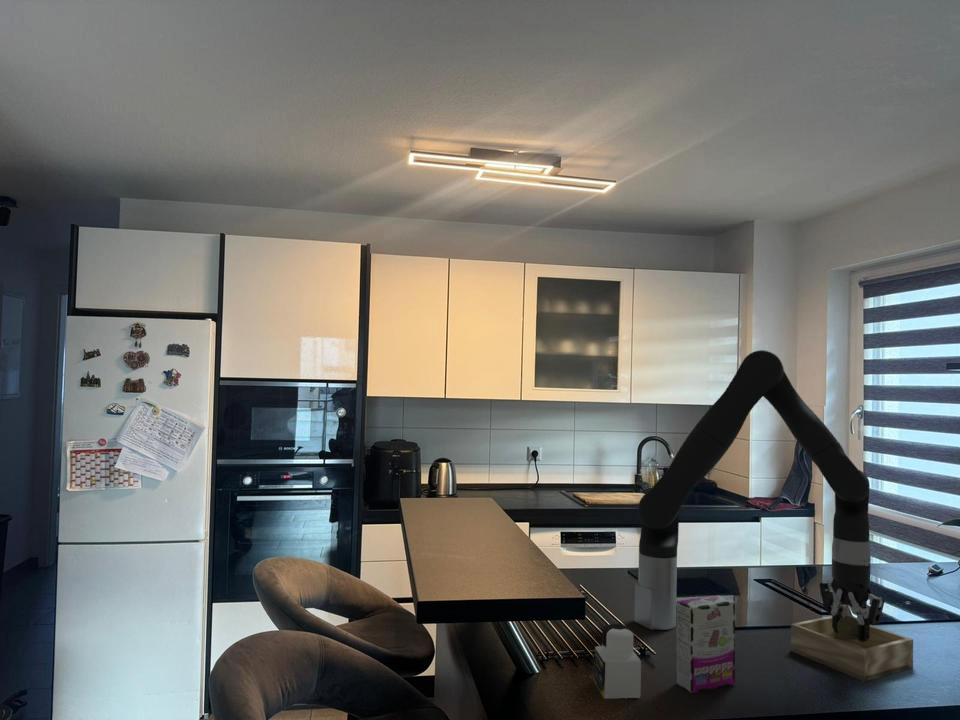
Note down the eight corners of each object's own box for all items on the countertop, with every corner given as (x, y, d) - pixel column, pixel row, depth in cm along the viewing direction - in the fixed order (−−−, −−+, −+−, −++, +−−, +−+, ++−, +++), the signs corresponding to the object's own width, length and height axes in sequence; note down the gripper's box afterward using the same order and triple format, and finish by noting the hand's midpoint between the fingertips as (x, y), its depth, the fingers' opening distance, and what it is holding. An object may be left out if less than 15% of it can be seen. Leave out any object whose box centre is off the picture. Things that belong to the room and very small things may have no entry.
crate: (864, 681, 134) (864, 651, 134) (790, 650, 149) (791, 624, 149) (913, 667, 142) (913, 639, 142) (838, 639, 157) (838, 614, 157)
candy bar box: (717, 675, 135) (718, 594, 136) (735, 685, 130) (736, 601, 131) (673, 683, 131) (675, 599, 131) (691, 694, 126) (692, 607, 127)
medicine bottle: (593, 682, 130) (595, 620, 130) (629, 682, 130) (630, 620, 131) (603, 699, 123) (605, 634, 123) (640, 699, 123) (642, 634, 124)
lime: (865, 644, 143) (865, 620, 143) (841, 641, 144) (841, 618, 144) (857, 636, 148) (858, 614, 148) (834, 634, 148) (834, 611, 149)
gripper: (810, 553, 151) (810, 628, 150) (872, 569, 138) (872, 651, 138) (831, 550, 154) (831, 623, 154) (893, 565, 142) (893, 645, 141)
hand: (850, 636), depth 146 cm, fingers closed on lime, 5 cm apart
